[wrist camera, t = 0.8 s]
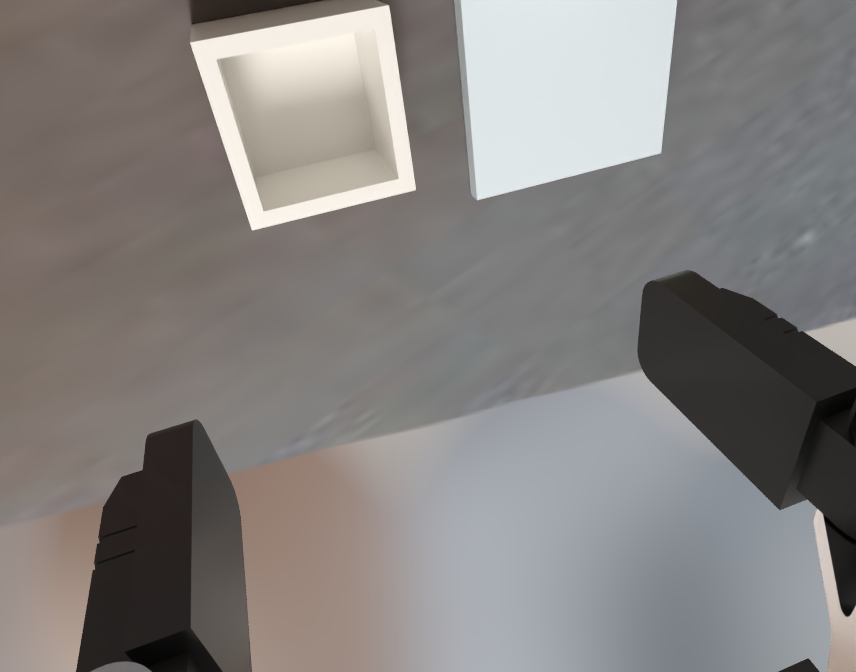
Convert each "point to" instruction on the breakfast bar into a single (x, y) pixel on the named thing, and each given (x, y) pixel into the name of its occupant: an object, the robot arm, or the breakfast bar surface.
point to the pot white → (307, 106)
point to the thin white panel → (560, 86)
